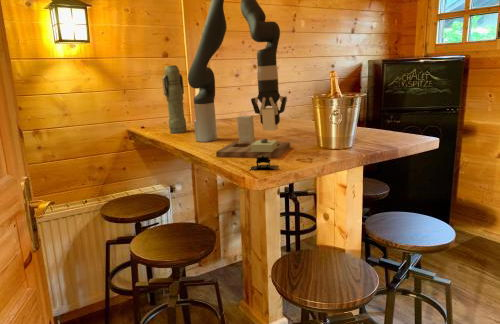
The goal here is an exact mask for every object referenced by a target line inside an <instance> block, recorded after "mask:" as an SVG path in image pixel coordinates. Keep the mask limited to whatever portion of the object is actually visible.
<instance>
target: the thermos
mask: <svg viewBox="0 0 500 324" xmlns="http://www.w3.org/2000/svg"><path fill="white" fill-rule="evenodd" d="M161 81H162V87H163V89H162V90H163V95H164V96H165V100H166V102H167V109H168V117H169V118H168V127H169V131H170V132H169V133H170V134H172V135H173V134H174V135H175V134H176V135H177V134H184V133H187V121H186V118H185V110H184V94H185V90H184V79H183V74H181V73H180V69H179V67H178V66H177V65H176V64H175V65H167V66H165V68H164V75H163V76H162V79H161Z"/></svg>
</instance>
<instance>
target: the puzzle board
mask: <svg viewBox="0 0 500 324" xmlns="http://www.w3.org/2000/svg"><path fill="white" fill-rule="evenodd" d="M253 143H254V142H239V141H232V142H230V143H229V144H227V145H225V146H223V147H222V148H220V149H218V150H217V151H215V154H216V158H246V159H247V158H253V159H257V157H258V155H269V158H270V159H280V158H281V157H282V155H284V154H285V153H286V152H287V150H289V149H290V148H291V142H290V141H277V148H276V149H275V150H274V151H273V152H251V144H253Z"/></svg>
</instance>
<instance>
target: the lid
mask: <svg viewBox="0 0 500 324" xmlns="http://www.w3.org/2000/svg"><path fill="white" fill-rule="evenodd" d="M277 142H278V140H274V139H273V140H268V138H261V139H260V140H259V139H258V140H255V142H254V143H253V144H251V152H273V151H274V150H275V149H276V148H277Z"/></svg>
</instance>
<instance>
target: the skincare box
mask: <svg viewBox="0 0 500 324" xmlns="http://www.w3.org/2000/svg"><path fill="white" fill-rule="evenodd" d="M236 121H237V132H238V133H237V135H238V136H237V137H238V142H256V140H255V139H256V138H255V126H254V125H255V124H254V115H239V116H237V117H236Z"/></svg>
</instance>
